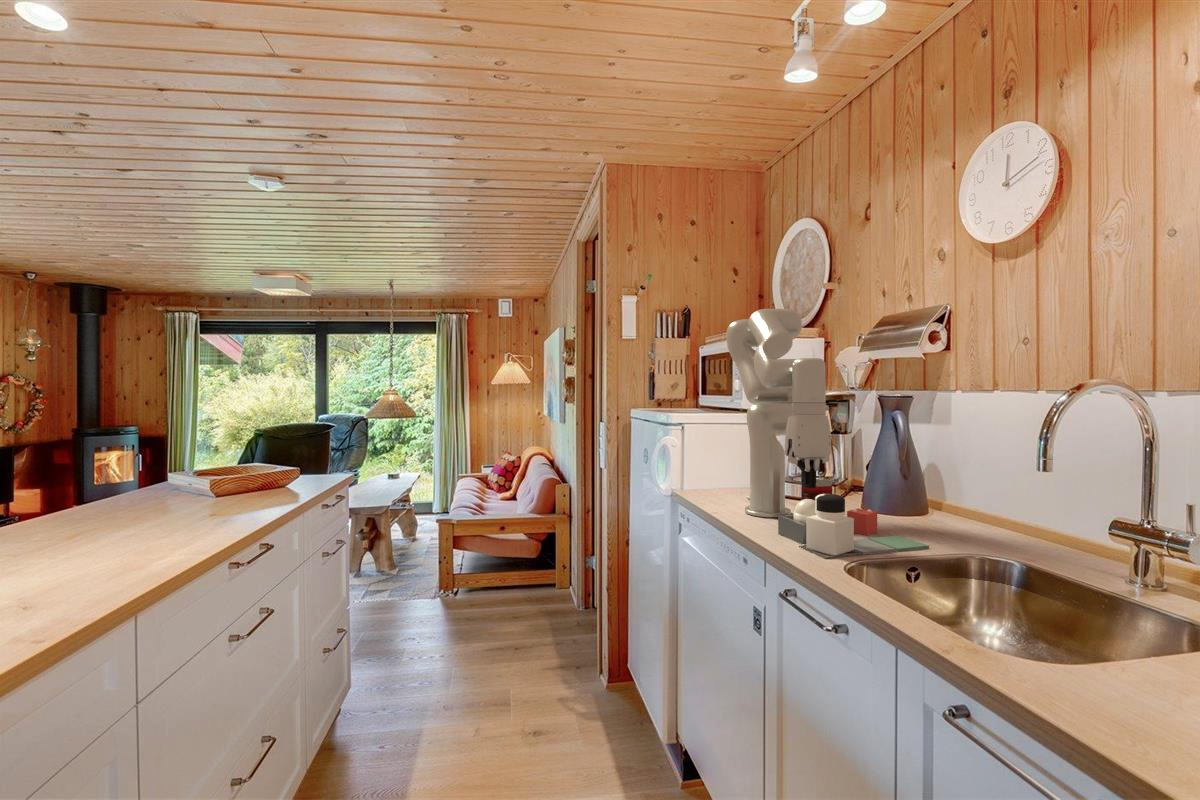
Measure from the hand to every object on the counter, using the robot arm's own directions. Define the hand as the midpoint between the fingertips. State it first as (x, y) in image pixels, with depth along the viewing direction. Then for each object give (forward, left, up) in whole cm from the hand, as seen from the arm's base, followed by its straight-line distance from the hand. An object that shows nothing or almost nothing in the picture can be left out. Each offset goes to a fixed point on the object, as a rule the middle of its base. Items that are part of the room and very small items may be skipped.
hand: (808, 487), depth 136 cm
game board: (+11, +6, -12) cm, 17 cm away
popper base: (0, 0, -12) cm, 12 cm away
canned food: (-12, +11, -12) cm, 20 cm away
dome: (0, 0, -9) cm, 9 cm away
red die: (-1, +16, -12) cm, 20 cm away
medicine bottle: (+11, -2, -12) cm, 16 cm away
